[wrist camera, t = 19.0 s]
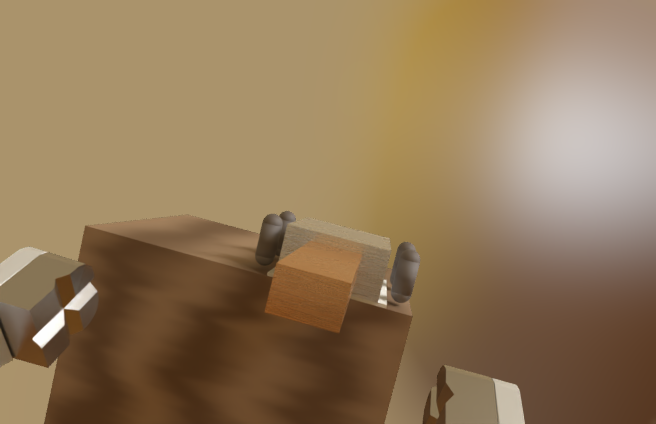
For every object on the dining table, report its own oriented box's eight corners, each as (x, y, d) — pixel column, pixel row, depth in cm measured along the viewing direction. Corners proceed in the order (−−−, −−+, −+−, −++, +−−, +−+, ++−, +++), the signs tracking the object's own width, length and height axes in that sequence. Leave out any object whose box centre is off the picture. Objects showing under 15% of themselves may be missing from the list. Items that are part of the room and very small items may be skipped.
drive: (379, 278, 32) (389, 238, 32) (374, 354, 17) (394, 278, 17) (298, 257, 32) (308, 217, 32) (226, 311, 18) (243, 238, 17)
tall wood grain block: (330, 548, 40) (412, 233, 38) (301, 734, 26) (428, 256, 24) (128, 478, 43) (195, 178, 41) (4, 616, 29) (96, 170, 27)
